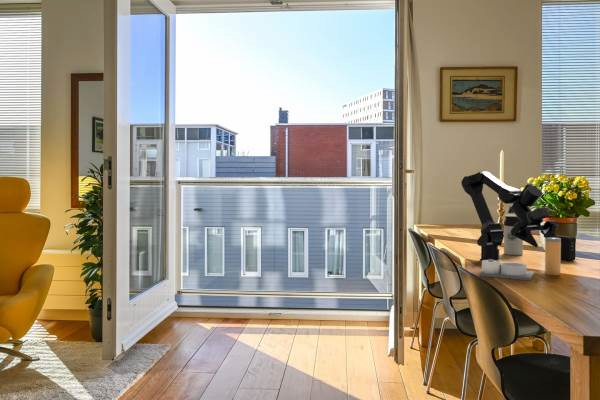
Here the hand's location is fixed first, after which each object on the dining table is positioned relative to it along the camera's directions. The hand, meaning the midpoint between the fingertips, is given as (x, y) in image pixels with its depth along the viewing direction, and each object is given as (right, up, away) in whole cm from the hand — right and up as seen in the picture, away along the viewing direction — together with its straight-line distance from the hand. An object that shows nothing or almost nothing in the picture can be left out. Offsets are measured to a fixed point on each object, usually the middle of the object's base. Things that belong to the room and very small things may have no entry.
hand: (547, 246), depth 184 cm
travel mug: (+7, -8, +45) cm, 46 cm away
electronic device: (+21, -9, +29) cm, 37 cm away
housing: (-16, -10, -3) cm, 19 cm away
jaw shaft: (+1, -10, -2) cm, 10 cm away
